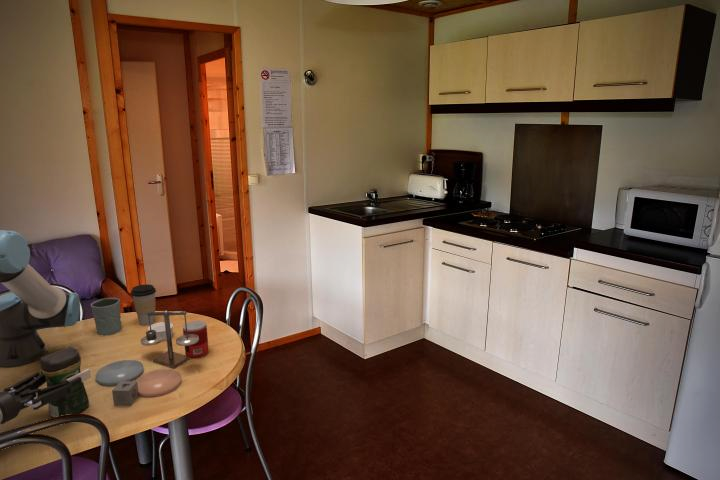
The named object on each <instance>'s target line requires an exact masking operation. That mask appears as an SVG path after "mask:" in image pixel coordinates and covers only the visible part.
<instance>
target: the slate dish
mask: <svg viewBox="0 0 720 480" xmlns="http://www.w3.org/2000/svg"><path fill="white" fill-rule="evenodd" d="M144 371H145V369H144V364H143V363H142V361H139V360H135V359H134V360H133V359H124V360H118V361H114V362H111V363H108V364H107V365H104V366H103V367H100V369H98V371H97V372H96V373H95V380H96V383H97V384H98V385H99V386H103V387H116V386H117V385H118V384H119V383H120V382H121V381H135V380H136V379H137V378H139V377H140V376H142V375H144Z"/></svg>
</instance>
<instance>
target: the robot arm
mask: <svg viewBox="0 0 720 480" xmlns="http://www.w3.org/2000/svg"><path fill="white" fill-rule="evenodd" d="M28 245H29V243H28V241H27V240H26V238H25V237H24V235H22V234H21V233H19V232H17V231H16V230H5V229H4V230H3V229H0V284H2V285H3V286H4V287H5V288H6V289H8V290H9V291H10V292H6V293H3V294H0V367H3V368H12V367H19V366H23V365H27V364H29V363H32V362H33V363H34V361H37V360H39V359H41V357H43V356H46V354H47V351H48V350H47V346H46V343H45V341H44V340H43V338H42V337H41V335H40V334H39V332H38V331H37V330H39V329H49V328H50V329H53V328H68V327H74V326H76V324H77V322H78V321H79V319H80V313H81V300H80V297H79V294H78V293H76V292H65V290H63V289H61V288H60V287H58V286H54V285H51V284H50V283H49V282H48V281H47V280H46V279H44V277H42V276H41V274H40V273H39V272H38V271H37V270H35V269H34V268H33V267H32V266H31V264H30V259H31V250H30V247H29V246H28ZM91 378H92V374H91V369H90V368H87V369H85V370H83V371H81V372H80V373H78V374H76V375H74V376H72V377H70V378H68V379H66V382H63V383H60V384H56V385H53V386H50V387H47V386H45V387H44V388H40V387H41V386H43V385H44V384H46V383H47V382H46V378H45V376H44V375H43V373H42V371H41V370H40V372H39V371H37V372H35V373H33V374H30V375H29V376H27V377H26V378H24V379H22V380H19V381H18V382H16V383H14V384H13V385H10V386H8V387H5V388H3V391H0V425H3V424H6V423H7V422H10V421H12V420H13V419H15V418H17V417H18V415H19V413H20V412H21V410H23V409H27V408H29V407H32V409H33V411H37V410H39V409H40V408H42V407H44V406H46V405H48V403H50V402H53V401H55V400H57V399H60V398H62V397H64V396H67V395H69V394H71V393H73V391H72V387H74V386H76V385H78V384H80V383H82V382H83V383H85V381H88V380H90V379H91Z"/></svg>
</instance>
